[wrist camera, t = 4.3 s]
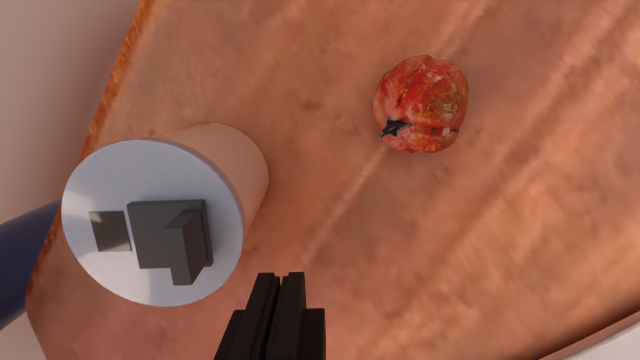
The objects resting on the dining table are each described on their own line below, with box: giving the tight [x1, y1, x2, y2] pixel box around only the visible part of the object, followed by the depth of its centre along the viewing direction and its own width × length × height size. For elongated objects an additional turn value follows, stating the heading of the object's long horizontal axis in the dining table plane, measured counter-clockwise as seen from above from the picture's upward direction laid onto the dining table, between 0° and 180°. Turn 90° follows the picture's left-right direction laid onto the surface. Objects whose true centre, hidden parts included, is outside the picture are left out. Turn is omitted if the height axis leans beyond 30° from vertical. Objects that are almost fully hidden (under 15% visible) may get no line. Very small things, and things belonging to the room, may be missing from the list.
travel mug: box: [61, 123, 269, 307], centre depth 25 cm, size 11×11×12 cm
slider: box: [126, 199, 214, 286], centre depth 18 cm, size 4×4×3 cm
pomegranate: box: [372, 55, 469, 153], centre depth 26 cm, size 7×7×10 cm
